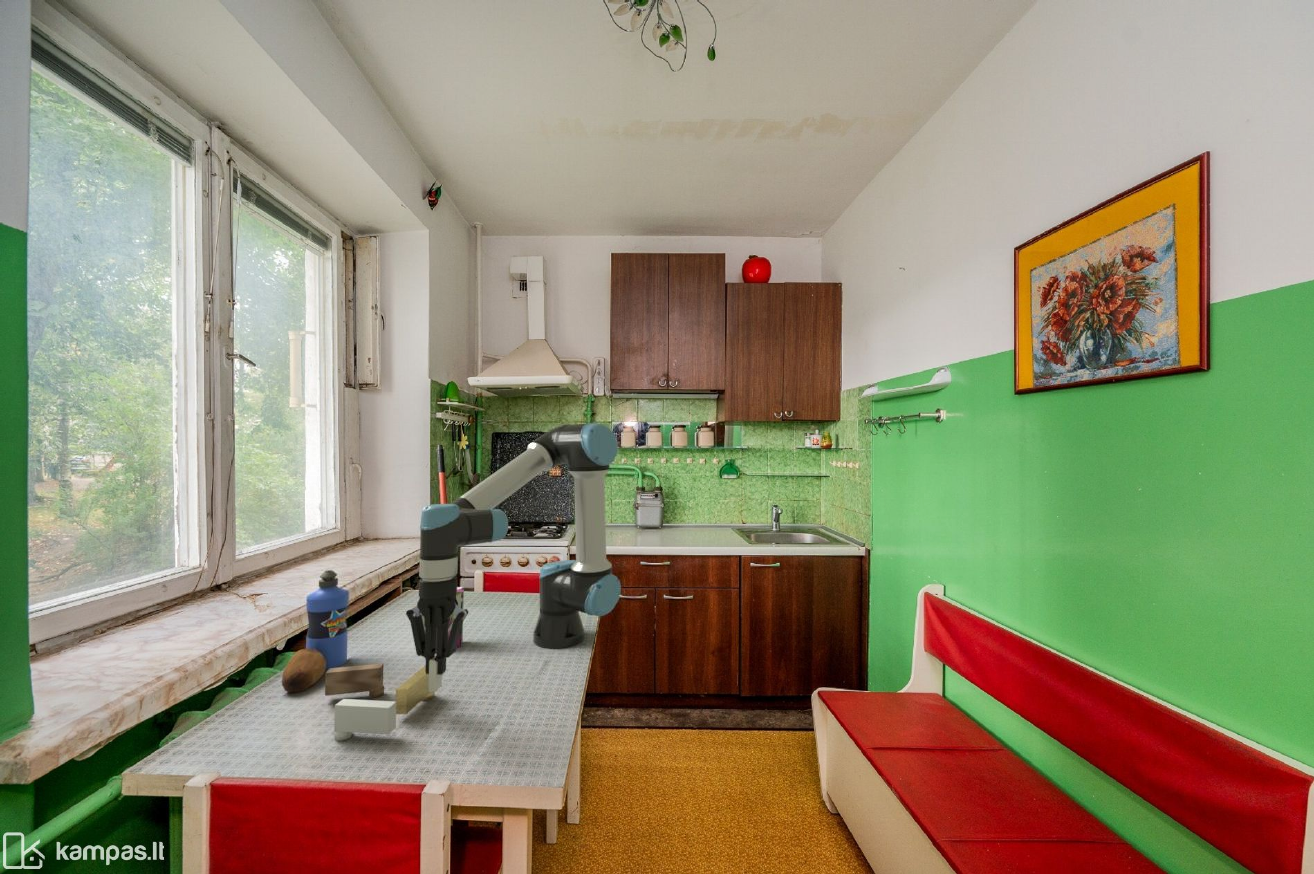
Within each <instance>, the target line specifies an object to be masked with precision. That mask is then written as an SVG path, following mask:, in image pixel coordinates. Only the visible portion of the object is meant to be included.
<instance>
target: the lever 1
mask: <svg viewBox="0 0 1314 874" xmlns="http://www.w3.org/2000/svg"><path fill="white" fill-rule="evenodd" d="M324 677H325V683H324V684H325V685H324V687H325V688H324V693H325V694H324V695H325V696H326V697H328V696H335V695H338V696H339V695H345V694H355V693H364V692H365V693H366V692H368V697H369V698H370V699H378V698H381V697H383V696H384V695H385V685H384V662H383V663H375V664H373V663H372V664H361V665H353V666H341V667H340V666H338V667H335V668H330V669H329V670H328V671H327V672H326V673H325V676H324Z"/></svg>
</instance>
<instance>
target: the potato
mask: <svg viewBox="0 0 1314 874" xmlns="http://www.w3.org/2000/svg"><path fill="white" fill-rule="evenodd" d="M325 668H326V661H325V659H324V657H323V655H322V654H321V653H320V652H319V651H317V650H316V649H308V648H306V647H304V648H302V649H299V650H297V651H295V652H294V654H293V655H292V656H291V657H290V659H289V661H288V662H287V663H286V665H285V668H284V670H283V673H282V678H281V679H282V680H281V685H282V687H283V689H284V691H285V692H286V693H288V694H292V693H298V692H302V691H305V690H306V689H308V688H310V687H311V686H314V684H315V683H317V682H318V681H319V680H320V679H321V677H322V676H323V675H324V674H323V673H324V672H325Z"/></svg>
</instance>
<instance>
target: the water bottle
mask: <svg viewBox="0 0 1314 874" xmlns="http://www.w3.org/2000/svg"><path fill="white" fill-rule="evenodd" d="M337 576H338V573H336V572H335V571H334V570H325V571H323V573H322V574H321V575H319V578H320V579H319V580H318V587H319V588H318V589H317V590H315V591H314V592H311V593H310V594H308V595H307V596H306V607H305V608H306V611H307V612H306V613H307V620H308V628H307V633H306V637H305V638H306V641H305V642H306V645H305V648H308V649H316V650H317V651H319V652H320V653H321V654H322V655H323V657H324V659H325V661H326V668H325V672H324V673H323V675H326V672H327V671H328V670H329V669H330V668H338V667H340V666H342V665H343V664H345V663H346V662H347V660H348V630H349V629H348V627H347V613H348V607H349V603H350V590H348V589H344V588H341V587H339V586H338V585H339V578H338V577H337Z"/></svg>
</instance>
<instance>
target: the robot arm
mask: <svg viewBox="0 0 1314 874" xmlns="http://www.w3.org/2000/svg"><path fill="white" fill-rule="evenodd" d="M617 455H618V441H617V438H616V435H615V434H614V432H613V431H612V430H611V429H610V427H608V426H606V425H605V424H602V423H592V422H591V423H578V424H577V423H576V424H575V423H572V424H568V423H567V424H562V425H559V426H556V427H554V428H552V429H550V430H549V431H547V432H545V433H543V434H542V435H540V436H539V437H538V438H536V439H534V440H533V441H532V442H530V443H529V444H528V445H527V447H526V450H525V451H523V452H522V453H520V454H519V455H518V456H516V457H515V458H513V459H512V460H511V461H509V462H508V463H506V464H505V465H504V466H502V467H501V468H499V469H498V470H496V471H495V472H493V473H492V474H490V475H489V476H488V477H487V478H485V479H484V480H483V481H481V482H480V483H478V484H477V485H475V486H474V487H472V488H470V489H469V490H468V491H466V492H465V493H464V494H463V495H461V496H459V497H458V498H456V499H455V500H454V501H452V502H450V503H437V504H436V503H435V504H428V505H425V506H424V507H423V509H422V511H421V518H420V525H419V529H420V537H419V539H420V543H419V544H420V545H419V546H420V547H419V548H420V549H419V568H418V569H419V570H418V571H419V572H418V577H419V578H420V579H419V581H418V597H419V598H418V601H417V603H416V606H414V607H412V608H410V609H408V610H407V611H406V612H405V615H406V617H407V619H408V620H409V622H410V626H411V632H412V637H413V642H414V648H415V653H416V655H417V656H418V657H423V658H424V659H425V666H426V667H425V668H426V669H425V672H426V674H429V689H428V692H434V693H436V692H437V691H439V689H441V688H442V687H443V674H444V673H445V672H446V670H447V658H450V657H451V656H452V655H453V654H455V653H456V650H457V648H458V647H457V644H458V640H459V636H460V632H461V628H462V624H463V625H464V620H465V619H466V617H467V616H468V615H469V610H468V609H467V608H465V609H464V608H463V609H462V608H460V607H459V606H458V601H457V599H456V594H457V587H458V577H457V574H458V561H459V559H458V557H459V547H464V546H465V547H466V546H470V545H479V544H480V545H481V544H485V543H490V544H491V543H493V542H496V541H501V540H503V539H504V538H505V537H506V535H507V534H508V530H509V520H508V516H507V514H506V513H505V511H503V510H501V509H498V508H496V507H497V506H499V505H500V504H502V502H504V501H505V500H506V499H508V498H509V497H510V496H512V495H513V494H515V493H516V492H517V491H518V490H519V489H521V488H523V486H525V485H526V484H528V483H529V482H530V481H532V480H533V479H534V478H535V477H537V476H538V475H540V474H541V473H542V472H549V471H551V470H552V469H553V468H556V467H557V466H560V465H565V464H567V465H568V473H570V475H571V476H573V479H574V480H573V481H574V483H573V484H574V488H573V489H574V524H575V525H574V527H575V528H574V529H575V532H574V533H575V559H571V560H570V559H569V560H568V559H567V560H566V559H565V560H557V561H552V562H548V563H545V564H543V565H542V566H541V567H540V570H539V571H540V572H539V578H538V579H539V615H538V618H537V621H536V624H535V627H534V631H533V634H532V635H533V636H532V638H533V640H532V641H533V644H535V645H536V646H537V647H541V648H547V649H562V648H568V647H573V646H575V645H578V644H580V643H582V641H583V640H585V628H584V625H583V624H584V623H583V622H582V617H581V615H580V613H584V614H586V615H588V616H597V617H604V616H606V615H607V614H609V613H611V612H612V610H614V608H615V606H616V605H617V604H618V602H619V599H620V596H621V592H622V590H621V589H622V586H621V581H620V579H618V576H616V575H614V574H613V565H612V563H611V562H610V560H608V559H607V539H606V538H607V537H606V536H607V532H606V494H605V492H606V491H605V489H606V488H605V476H606V475H607V473H608V472H610V465H611V464H612V463H613V462H615V460H616V457H617ZM453 612H454V618H455V619H454V621H453V624H452V628H451V632H450V636H449V639H448V624H449V621H450V616H451V615H452V614H453ZM421 614H422V615H423V617H424V618H425V620H424V625H423V620H422V616H421ZM424 626H425V628H426V629H425V630H424ZM436 637H437V649H436Z"/></svg>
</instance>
